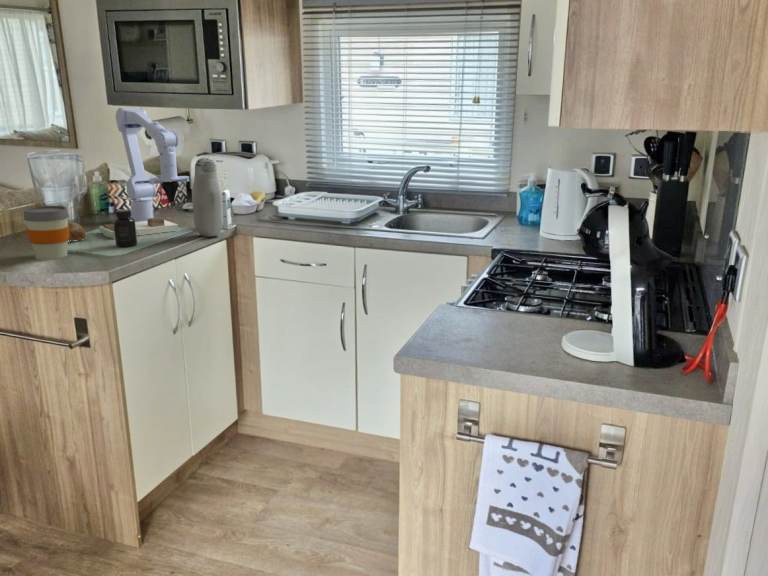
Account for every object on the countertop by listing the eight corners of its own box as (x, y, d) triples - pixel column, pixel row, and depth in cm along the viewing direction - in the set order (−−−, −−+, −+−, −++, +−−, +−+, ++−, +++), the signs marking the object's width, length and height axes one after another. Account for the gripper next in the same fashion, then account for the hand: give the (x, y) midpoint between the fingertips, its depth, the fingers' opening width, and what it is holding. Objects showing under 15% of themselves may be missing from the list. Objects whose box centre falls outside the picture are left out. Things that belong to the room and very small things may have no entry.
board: (124, 230, 251) (123, 223, 251) (162, 225, 261) (162, 219, 260) (138, 236, 241) (137, 229, 240) (178, 231, 251) (177, 224, 250)
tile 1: (115, 223, 247) (116, 230, 248) (103, 224, 245) (103, 231, 245) (120, 225, 244) (120, 232, 245) (107, 226, 241) (108, 233, 242)
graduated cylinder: (228, 229, 255) (226, 191, 251) (213, 229, 255) (210, 191, 251) (232, 226, 260) (230, 189, 256) (217, 226, 260) (214, 189, 256)
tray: (99, 232, 246) (98, 226, 245) (124, 230, 251) (123, 223, 251) (113, 239, 236) (112, 232, 235) (138, 236, 241) (137, 229, 240)
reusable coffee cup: (33, 252, 215) (27, 206, 210) (76, 250, 218) (70, 205, 214) (25, 262, 203) (18, 213, 199) (70, 260, 206) (64, 211, 202)
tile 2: (147, 225, 248) (147, 218, 247) (159, 223, 251) (159, 217, 250) (152, 227, 245) (152, 220, 244) (164, 225, 247) (164, 219, 247)
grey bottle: (189, 236, 242) (184, 157, 234) (213, 232, 249) (209, 156, 242) (205, 240, 236) (200, 159, 228) (229, 236, 243) (225, 158, 235)
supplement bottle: (141, 244, 228) (138, 209, 225) (128, 248, 222) (124, 212, 219) (125, 242, 231) (121, 208, 227) (111, 246, 224) (107, 211, 221)
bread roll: (87, 250, 234) (95, 229, 235) (58, 242, 226) (66, 220, 227) (75, 246, 241) (82, 225, 241) (47, 238, 233) (54, 216, 233)
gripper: (153, 167, 239) (156, 205, 243) (191, 165, 248) (194, 201, 252) (145, 165, 244) (149, 202, 248) (183, 163, 253) (186, 199, 257)
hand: (171, 202), depth 250 cm, fingers closed
